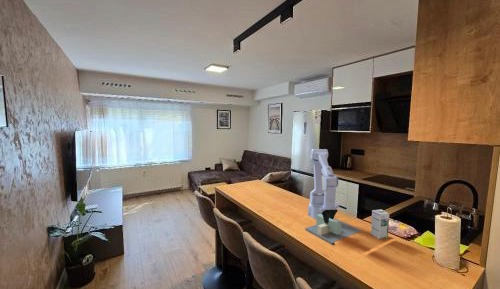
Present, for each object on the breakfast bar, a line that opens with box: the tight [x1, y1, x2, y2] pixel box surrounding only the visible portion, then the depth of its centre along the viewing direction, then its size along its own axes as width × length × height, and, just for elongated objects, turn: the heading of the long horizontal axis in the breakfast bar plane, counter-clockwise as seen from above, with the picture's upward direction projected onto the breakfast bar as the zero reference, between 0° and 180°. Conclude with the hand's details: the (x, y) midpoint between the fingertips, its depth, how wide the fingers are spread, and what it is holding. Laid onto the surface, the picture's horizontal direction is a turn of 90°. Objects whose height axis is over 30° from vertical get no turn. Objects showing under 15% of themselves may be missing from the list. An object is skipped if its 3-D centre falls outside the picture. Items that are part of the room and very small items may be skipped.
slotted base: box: [304, 218, 363, 245], centre depth 127 cm, size 18×26×6 cm
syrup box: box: [370, 209, 390, 240], centre depth 120 cm, size 6×6×14 cm
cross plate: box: [315, 214, 342, 235], centre depth 124 cm, size 14×3×6 cm, turn 32°
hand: (328, 222), depth 124 cm, fingers closed on cross plate, 3 cm apart
